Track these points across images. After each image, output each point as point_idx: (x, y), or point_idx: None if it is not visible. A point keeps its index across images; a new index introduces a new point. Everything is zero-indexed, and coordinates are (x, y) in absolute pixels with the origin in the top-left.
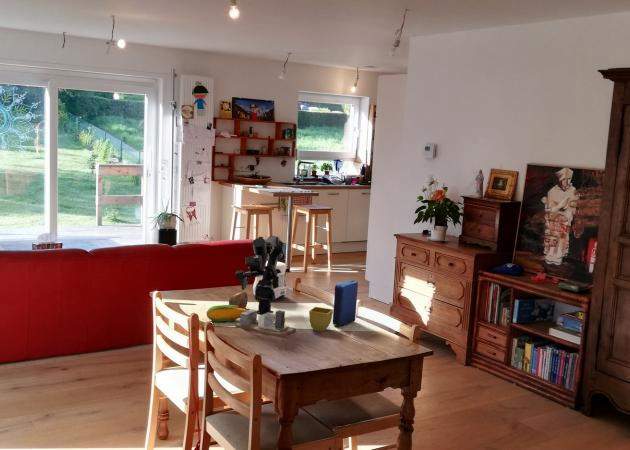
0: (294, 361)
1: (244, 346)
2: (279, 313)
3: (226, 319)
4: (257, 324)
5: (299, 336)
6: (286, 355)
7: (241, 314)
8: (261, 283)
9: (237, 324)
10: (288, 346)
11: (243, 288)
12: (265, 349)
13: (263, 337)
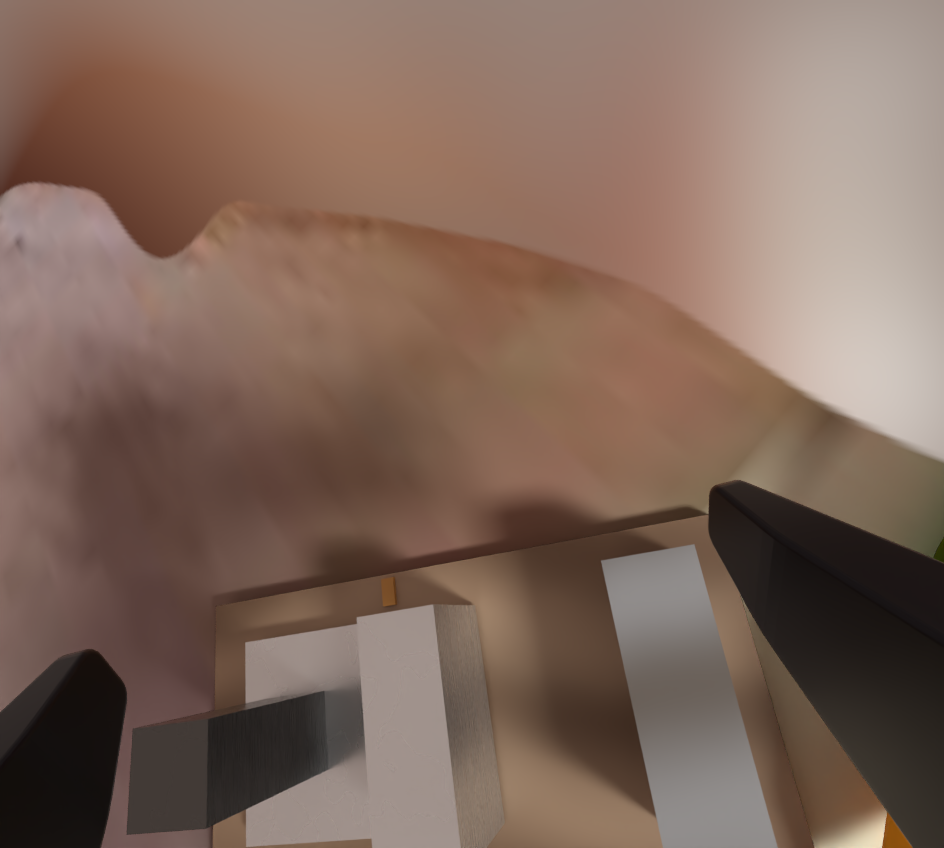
0: (14, 316)
1: (314, 251)
2: (167, 724)
3: (938, 553)
4: (560, 705)
5: None
6: (71, 345)
7: (677, 549)
8: (4, 729)
9: (702, 533)
10: (115, 470)
11: (730, 538)
12: (195, 318)
13: (328, 483)
